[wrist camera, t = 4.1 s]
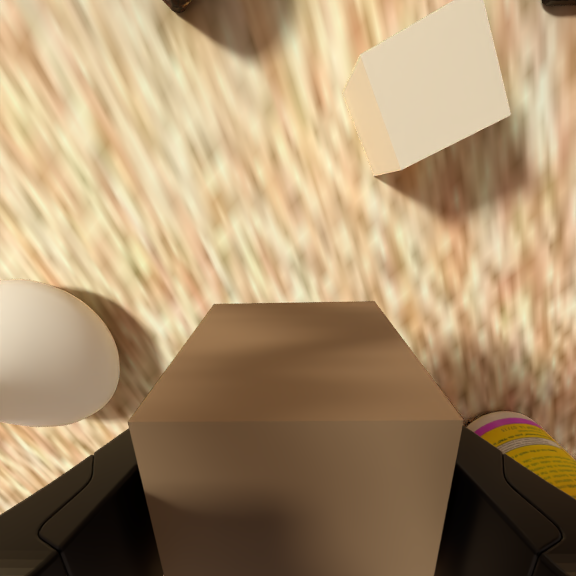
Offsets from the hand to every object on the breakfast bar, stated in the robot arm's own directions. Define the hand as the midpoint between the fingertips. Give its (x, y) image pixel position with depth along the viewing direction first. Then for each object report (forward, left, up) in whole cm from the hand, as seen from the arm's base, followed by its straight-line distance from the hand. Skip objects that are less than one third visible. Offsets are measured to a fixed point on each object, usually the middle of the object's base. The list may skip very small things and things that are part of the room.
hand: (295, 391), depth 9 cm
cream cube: (-6, -10, -12) cm, 17 cm away
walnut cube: (0, 0, -1) cm, 1 cm away
